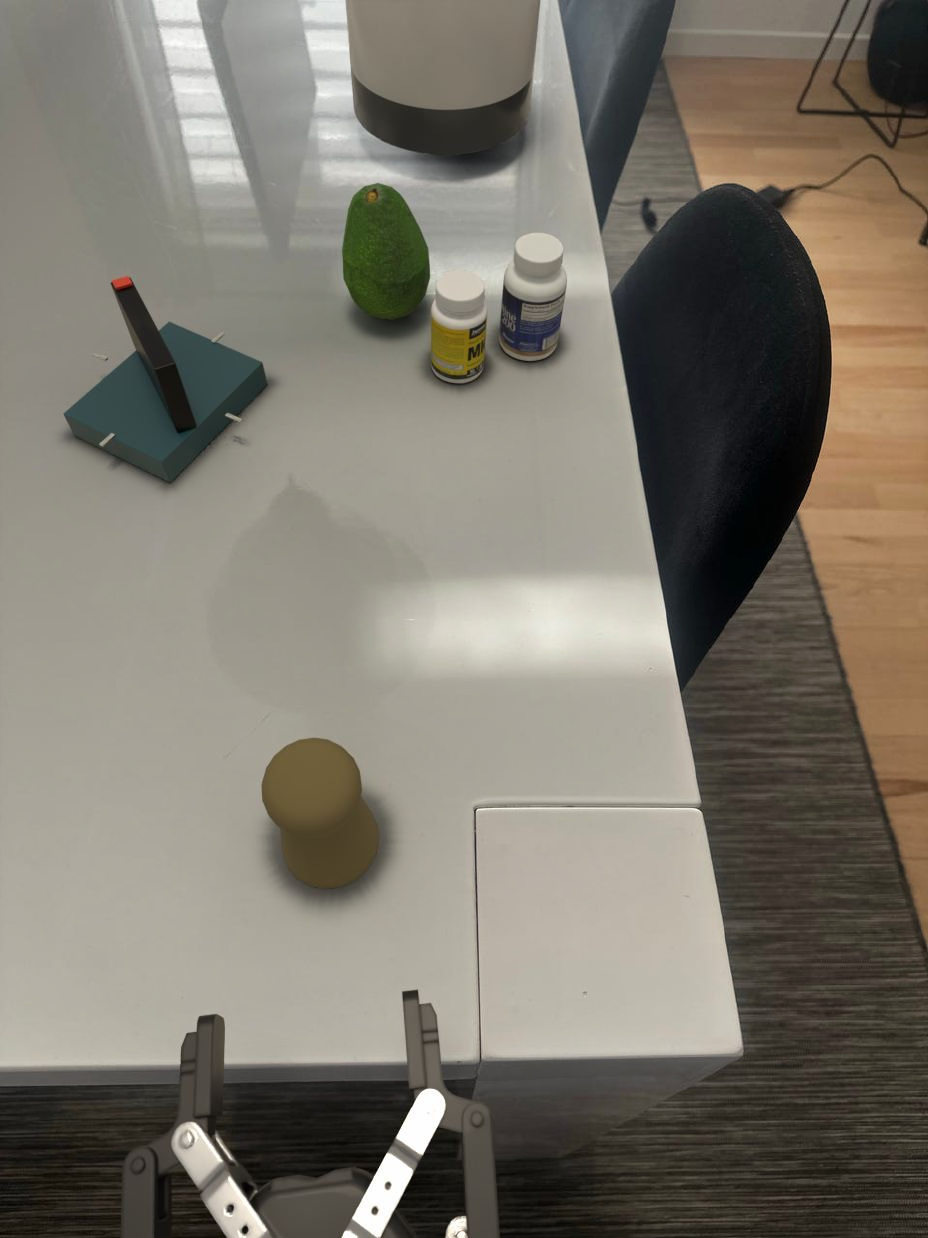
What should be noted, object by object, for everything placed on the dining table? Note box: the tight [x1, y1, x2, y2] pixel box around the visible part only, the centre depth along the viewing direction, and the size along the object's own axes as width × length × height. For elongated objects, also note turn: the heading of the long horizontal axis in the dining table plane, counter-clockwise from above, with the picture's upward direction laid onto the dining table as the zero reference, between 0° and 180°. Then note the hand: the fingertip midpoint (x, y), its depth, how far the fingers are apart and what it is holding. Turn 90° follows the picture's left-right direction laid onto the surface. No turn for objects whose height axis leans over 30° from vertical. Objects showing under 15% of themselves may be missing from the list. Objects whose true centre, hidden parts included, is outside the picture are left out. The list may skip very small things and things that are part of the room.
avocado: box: [341, 182, 431, 321], centre depth 73 cm, size 8×8×12 cm
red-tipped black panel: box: [110, 275, 197, 433], centre depth 65 cm, size 11×2×7 cm, turn 29°
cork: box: [261, 737, 380, 890], centre depth 47 cm, size 6×6×11 cm
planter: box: [344, 0, 541, 157], centre depth 86 cm, size 19×19×18 cm
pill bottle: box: [498, 232, 568, 362], centre depth 72 cm, size 5×5×10 cm
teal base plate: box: [63, 321, 268, 484], centre depth 69 cm, size 15×15×3 cm
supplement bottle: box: [430, 269, 488, 384], centre depth 71 cm, size 5×5×8 cm
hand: (311, 1004), depth 36 cm, fingers open, 8 cm apart
